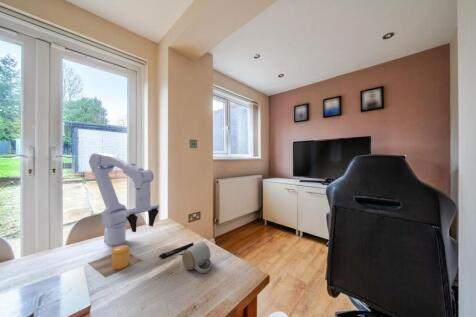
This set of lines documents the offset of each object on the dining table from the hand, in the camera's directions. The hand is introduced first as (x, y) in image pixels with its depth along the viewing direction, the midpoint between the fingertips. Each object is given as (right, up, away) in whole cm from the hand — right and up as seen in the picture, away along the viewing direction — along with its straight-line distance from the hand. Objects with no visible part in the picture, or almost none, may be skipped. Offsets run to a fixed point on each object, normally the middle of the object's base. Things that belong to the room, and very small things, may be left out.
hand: (142, 228), depth 79 cm
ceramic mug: (+27, -10, -12) cm, 31 cm away
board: (-4, -9, -12) cm, 16 cm away
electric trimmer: (+16, -10, -4) cm, 19 cm away
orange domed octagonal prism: (-1, -8, -14) cm, 16 cm away
